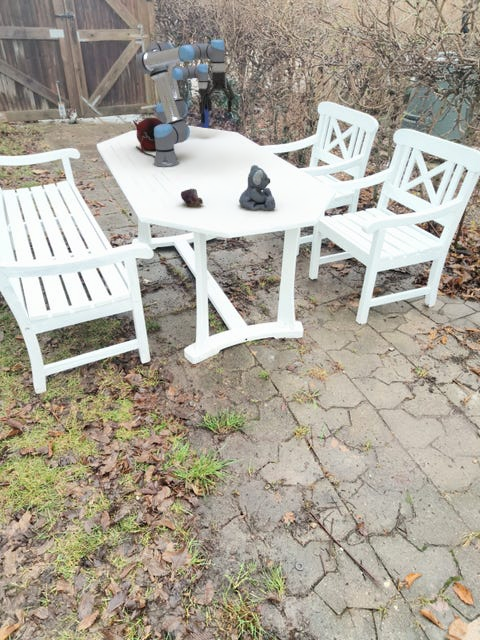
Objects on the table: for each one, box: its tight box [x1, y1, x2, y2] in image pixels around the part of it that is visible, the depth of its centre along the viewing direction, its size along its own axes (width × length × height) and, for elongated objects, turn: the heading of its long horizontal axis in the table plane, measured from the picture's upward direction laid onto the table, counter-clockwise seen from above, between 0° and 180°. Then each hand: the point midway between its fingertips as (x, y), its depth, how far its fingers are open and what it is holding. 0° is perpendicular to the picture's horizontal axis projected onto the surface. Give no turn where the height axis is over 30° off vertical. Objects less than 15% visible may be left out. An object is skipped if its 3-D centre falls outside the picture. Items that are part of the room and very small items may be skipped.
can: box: [200, 108, 210, 129], centre depth 343 cm, size 6×6×12 cm
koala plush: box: [238, 164, 276, 211], centre depth 224 cm, size 17×18×20 cm
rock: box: [180, 188, 204, 207], centre depth 229 cm, size 12×9×10 cm
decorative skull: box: [132, 117, 164, 153], centre depth 323 cm, size 21×24×25 cm
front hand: (219, 111), depth 269 cm, fingers open, 13 cm apart
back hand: (205, 121), depth 344 cm, fingers closed on can, 6 cm apart
